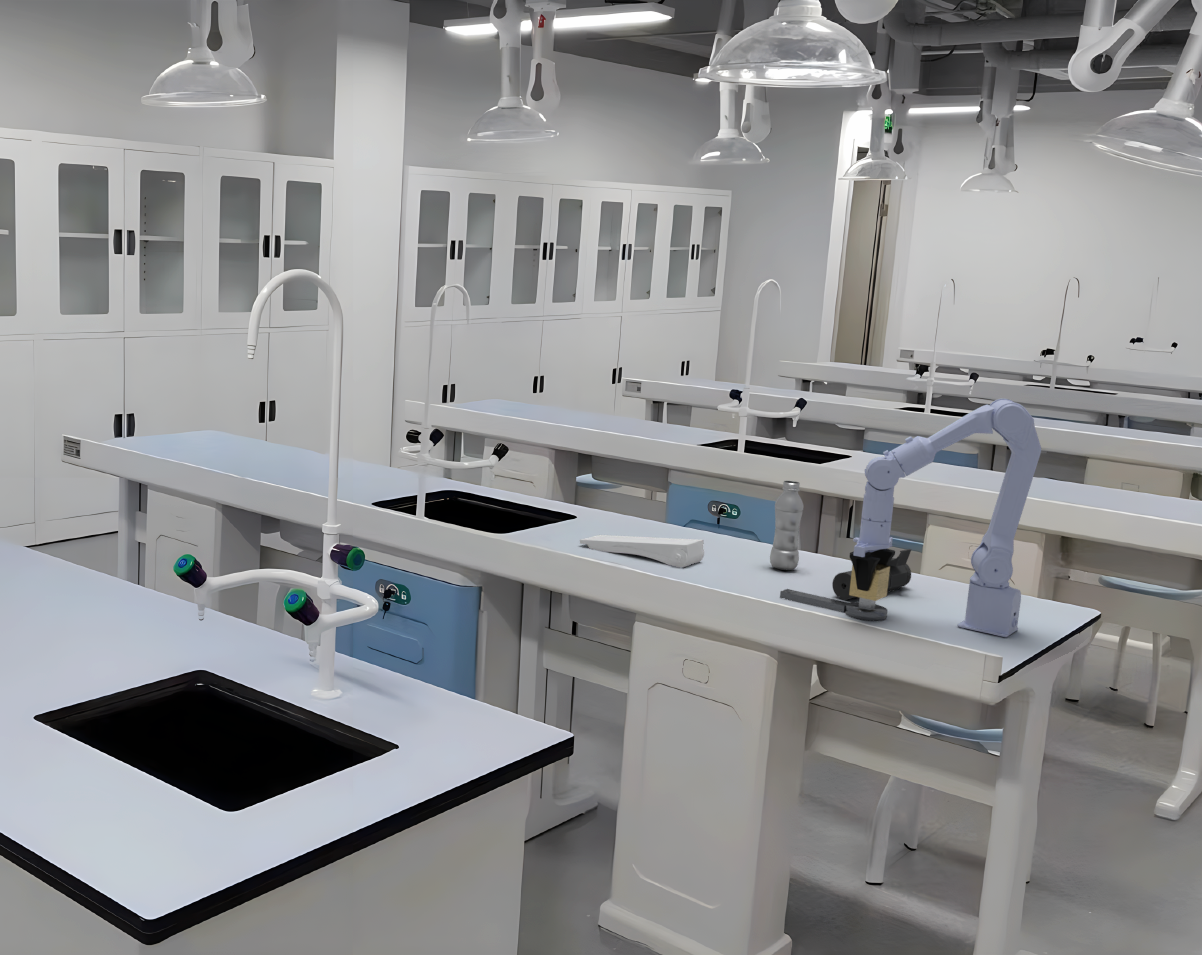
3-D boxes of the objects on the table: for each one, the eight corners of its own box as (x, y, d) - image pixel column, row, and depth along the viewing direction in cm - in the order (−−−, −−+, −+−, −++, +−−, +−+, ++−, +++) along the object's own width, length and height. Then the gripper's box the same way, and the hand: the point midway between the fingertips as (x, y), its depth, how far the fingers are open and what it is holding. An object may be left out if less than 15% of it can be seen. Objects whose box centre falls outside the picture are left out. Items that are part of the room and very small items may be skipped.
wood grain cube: (886, 596, 229) (890, 566, 228) (875, 600, 225) (879, 570, 224) (860, 590, 232) (863, 560, 231) (849, 594, 228) (852, 565, 227)
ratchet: (892, 616, 230) (895, 593, 229) (877, 623, 223) (879, 600, 223) (791, 593, 242) (793, 571, 242) (774, 600, 236) (776, 577, 235)
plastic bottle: (776, 573, 259) (784, 484, 256) (763, 565, 265) (772, 479, 262) (802, 573, 261) (811, 485, 258) (790, 565, 267) (798, 479, 264)
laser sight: (822, 595, 243) (827, 548, 242) (880, 581, 259) (885, 537, 257) (862, 606, 236) (867, 558, 235) (920, 591, 252) (925, 546, 251)
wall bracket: (581, 571, 272) (687, 578, 257) (576, 542, 270) (682, 547, 255) (603, 554, 280) (707, 560, 265) (598, 526, 278) (702, 530, 263)
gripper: (871, 511, 234) (864, 577, 236) (841, 520, 222) (834, 589, 224) (905, 517, 230) (897, 584, 232) (876, 526, 218) (869, 597, 220)
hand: (868, 587), depth 228 cm, fingers closed on wood grain cube, 5 cm apart
